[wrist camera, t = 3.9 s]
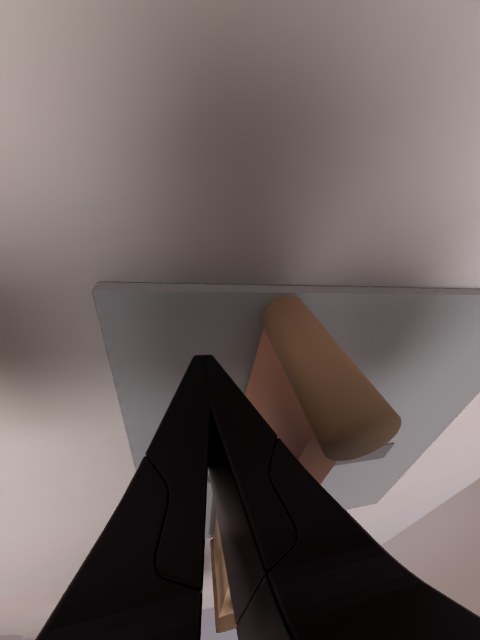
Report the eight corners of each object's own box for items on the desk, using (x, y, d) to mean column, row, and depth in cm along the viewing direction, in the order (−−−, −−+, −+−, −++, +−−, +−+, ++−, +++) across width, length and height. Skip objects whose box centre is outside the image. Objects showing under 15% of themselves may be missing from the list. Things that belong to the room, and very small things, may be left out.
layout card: (372, 496, 23) (377, 504, 23) (156, 538, 19) (155, 550, 18) (551, 290, 12) (570, 296, 11) (98, 282, 7) (91, 291, 7)
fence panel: (241, 483, 15) (259, 592, 11) (215, 486, 14) (225, 600, 11) (312, 297, 8) (417, 409, 4) (267, 293, 8) (343, 413, 4)
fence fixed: (229, 540, 20) (239, 627, 16) (209, 544, 20) (215, 634, 16) (241, 486, 15) (260, 593, 11) (215, 490, 14) (225, 602, 11)
